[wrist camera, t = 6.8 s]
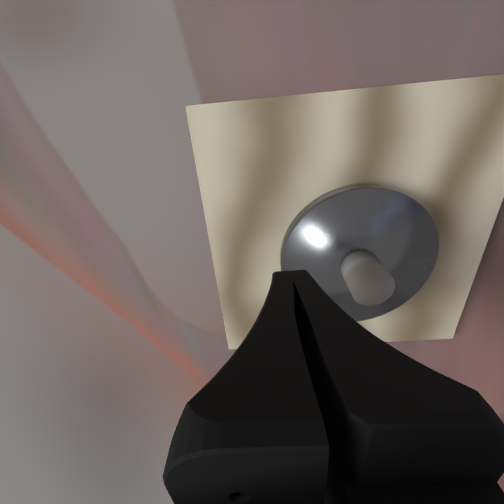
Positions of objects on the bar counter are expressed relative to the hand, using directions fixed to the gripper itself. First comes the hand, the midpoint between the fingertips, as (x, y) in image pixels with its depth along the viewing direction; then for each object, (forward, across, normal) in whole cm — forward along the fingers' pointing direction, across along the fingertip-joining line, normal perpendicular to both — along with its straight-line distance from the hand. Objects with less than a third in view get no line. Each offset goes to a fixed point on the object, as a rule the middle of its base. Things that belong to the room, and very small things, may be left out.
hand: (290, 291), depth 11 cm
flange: (+8, -4, +5) cm, 10 cm away
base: (+10, -5, +3) cm, 11 cm away
